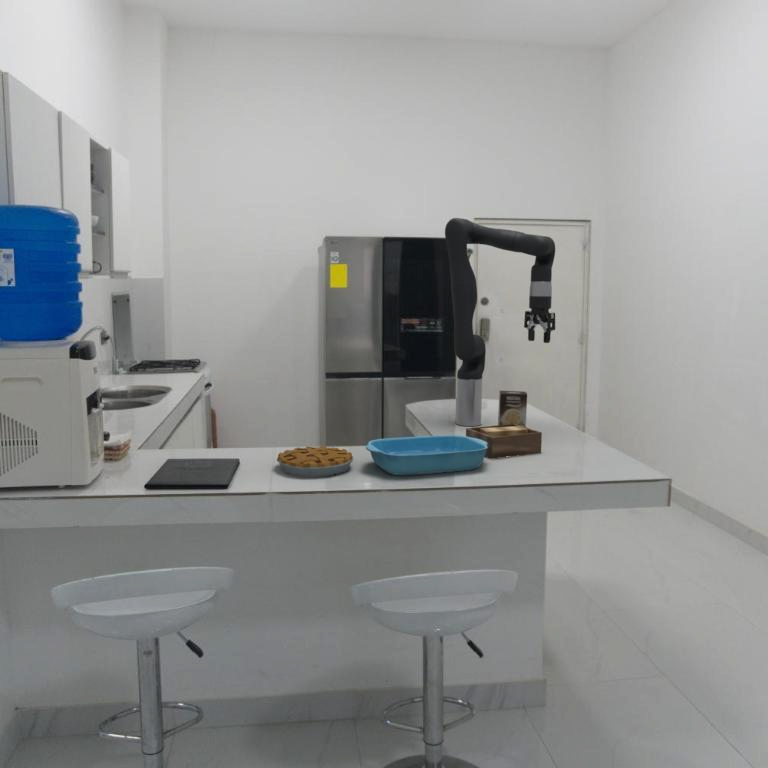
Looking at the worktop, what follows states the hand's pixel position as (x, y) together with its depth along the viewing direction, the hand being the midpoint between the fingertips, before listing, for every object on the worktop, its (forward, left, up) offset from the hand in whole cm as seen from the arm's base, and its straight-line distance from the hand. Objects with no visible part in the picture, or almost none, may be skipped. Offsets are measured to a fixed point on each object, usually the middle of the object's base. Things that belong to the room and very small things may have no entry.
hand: (538, 341), depth 258 cm
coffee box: (+5, -14, -32) cm, 36 cm away
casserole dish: (+24, -58, -33) cm, 71 cm away
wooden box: (+18, -26, -32) cm, 45 cm away
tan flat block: (+18, -26, -28) cm, 43 cm away
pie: (+13, -88, -32) cm, 95 cm away
